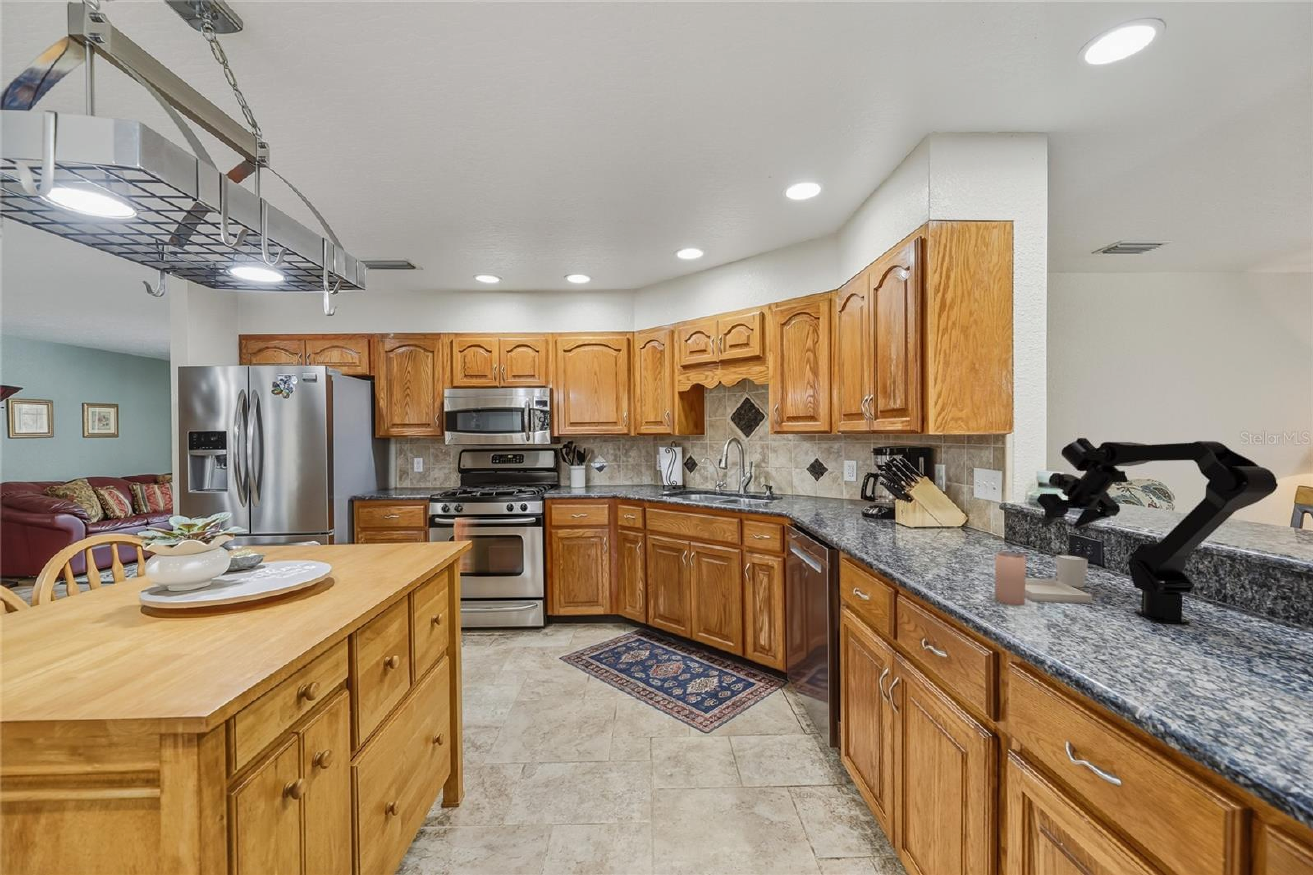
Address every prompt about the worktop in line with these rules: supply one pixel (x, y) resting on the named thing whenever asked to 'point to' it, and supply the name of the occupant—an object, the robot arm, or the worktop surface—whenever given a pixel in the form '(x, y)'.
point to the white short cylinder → (1071, 570)
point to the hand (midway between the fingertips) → (1060, 526)
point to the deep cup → (1010, 578)
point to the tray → (1054, 592)
